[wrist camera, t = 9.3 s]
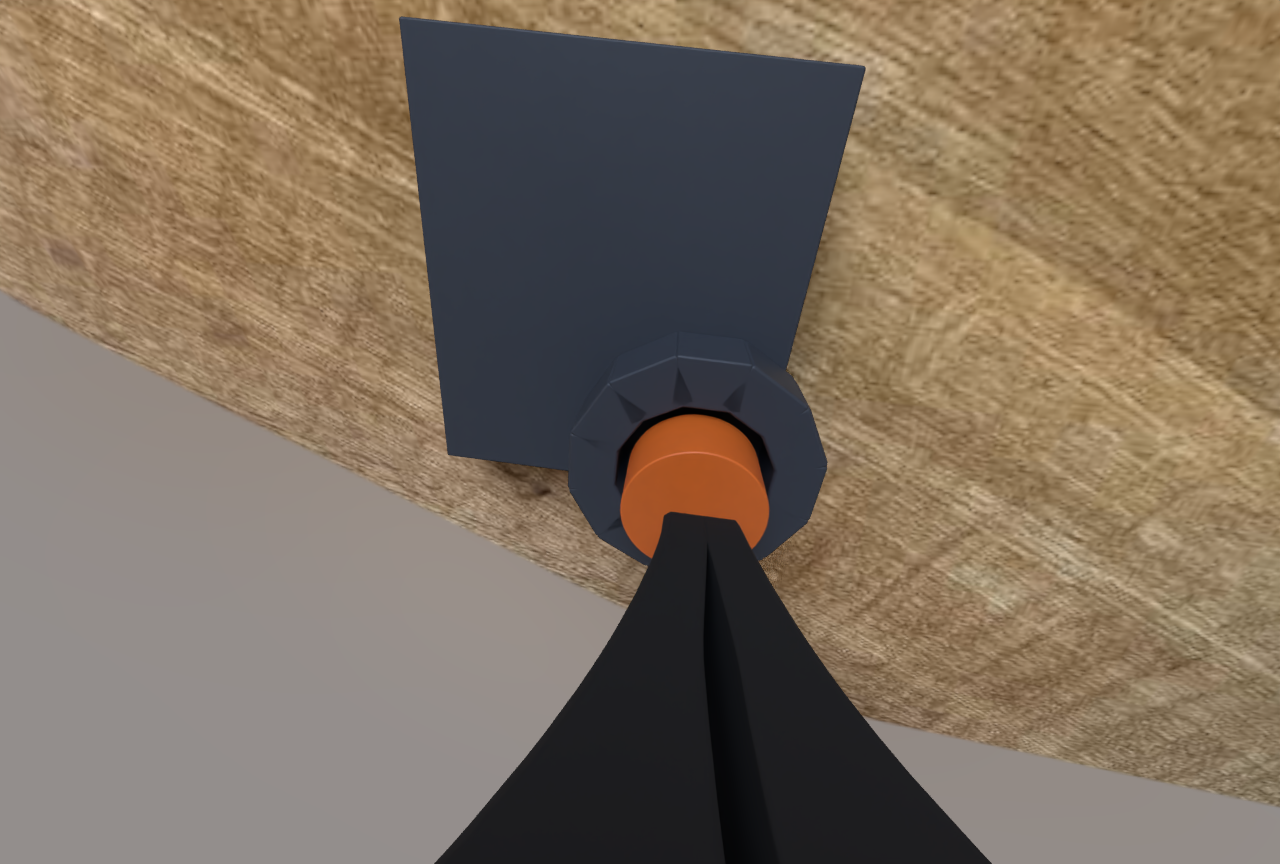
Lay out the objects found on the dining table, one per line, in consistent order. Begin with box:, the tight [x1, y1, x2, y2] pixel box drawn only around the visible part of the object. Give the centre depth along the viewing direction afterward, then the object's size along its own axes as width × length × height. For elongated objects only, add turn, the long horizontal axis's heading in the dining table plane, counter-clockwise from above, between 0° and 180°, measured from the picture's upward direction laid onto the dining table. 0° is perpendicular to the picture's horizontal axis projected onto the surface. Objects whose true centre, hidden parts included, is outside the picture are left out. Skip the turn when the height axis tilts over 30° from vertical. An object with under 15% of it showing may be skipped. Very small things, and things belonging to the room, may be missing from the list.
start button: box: [620, 414, 769, 559], centre depth 11 cm, size 3×3×2 cm
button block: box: [399, 17, 866, 566], centre depth 12 cm, size 12×10×4 cm
